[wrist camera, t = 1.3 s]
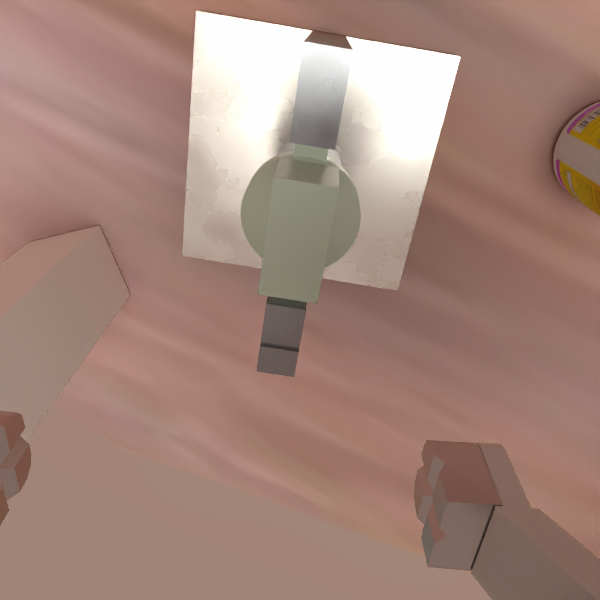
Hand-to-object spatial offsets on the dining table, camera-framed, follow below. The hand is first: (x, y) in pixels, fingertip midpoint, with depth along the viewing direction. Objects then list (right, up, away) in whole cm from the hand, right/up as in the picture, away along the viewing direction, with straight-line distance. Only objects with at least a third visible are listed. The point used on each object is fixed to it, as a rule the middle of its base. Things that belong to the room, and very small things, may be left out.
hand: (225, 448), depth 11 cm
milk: (-15, +6, +31) cm, 35 cm away
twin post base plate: (+2, +12, +26) cm, 29 cm away
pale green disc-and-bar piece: (+2, +8, +17) cm, 19 cm away
